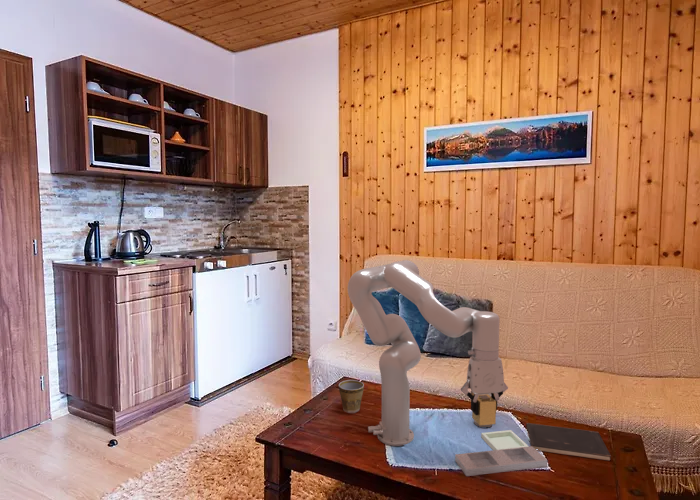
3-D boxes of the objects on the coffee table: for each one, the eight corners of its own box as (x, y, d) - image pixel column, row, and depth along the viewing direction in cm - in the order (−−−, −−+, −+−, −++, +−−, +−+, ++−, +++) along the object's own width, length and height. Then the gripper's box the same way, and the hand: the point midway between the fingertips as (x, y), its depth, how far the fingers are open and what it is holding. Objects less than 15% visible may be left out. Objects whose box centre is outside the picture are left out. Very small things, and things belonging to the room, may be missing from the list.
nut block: (479, 425, 127) (480, 401, 126) (472, 417, 132) (472, 394, 131) (495, 423, 128) (496, 399, 127) (487, 416, 133) (488, 392, 132)
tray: (497, 456, 136) (497, 450, 136) (481, 438, 147) (481, 432, 147) (529, 452, 138) (529, 446, 138) (510, 435, 149) (511, 429, 149)
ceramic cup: (364, 415, 165) (364, 389, 164) (338, 415, 165) (338, 389, 164) (363, 400, 178) (363, 376, 177) (339, 400, 178) (339, 377, 177)
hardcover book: (610, 463, 133) (611, 456, 133) (531, 451, 140) (531, 444, 140) (597, 437, 149) (597, 430, 148) (526, 428, 155) (526, 421, 155)
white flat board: (466, 477, 126) (466, 469, 125) (455, 462, 133) (455, 454, 133) (547, 468, 130) (547, 460, 130) (531, 453, 138) (531, 446, 138)
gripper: (463, 359, 123) (462, 420, 124) (518, 356, 126) (516, 416, 127) (453, 351, 130) (452, 409, 132) (505, 348, 133) (503, 404, 135)
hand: (483, 411), depth 130 cm, fingers closed on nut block, 5 cm apart
